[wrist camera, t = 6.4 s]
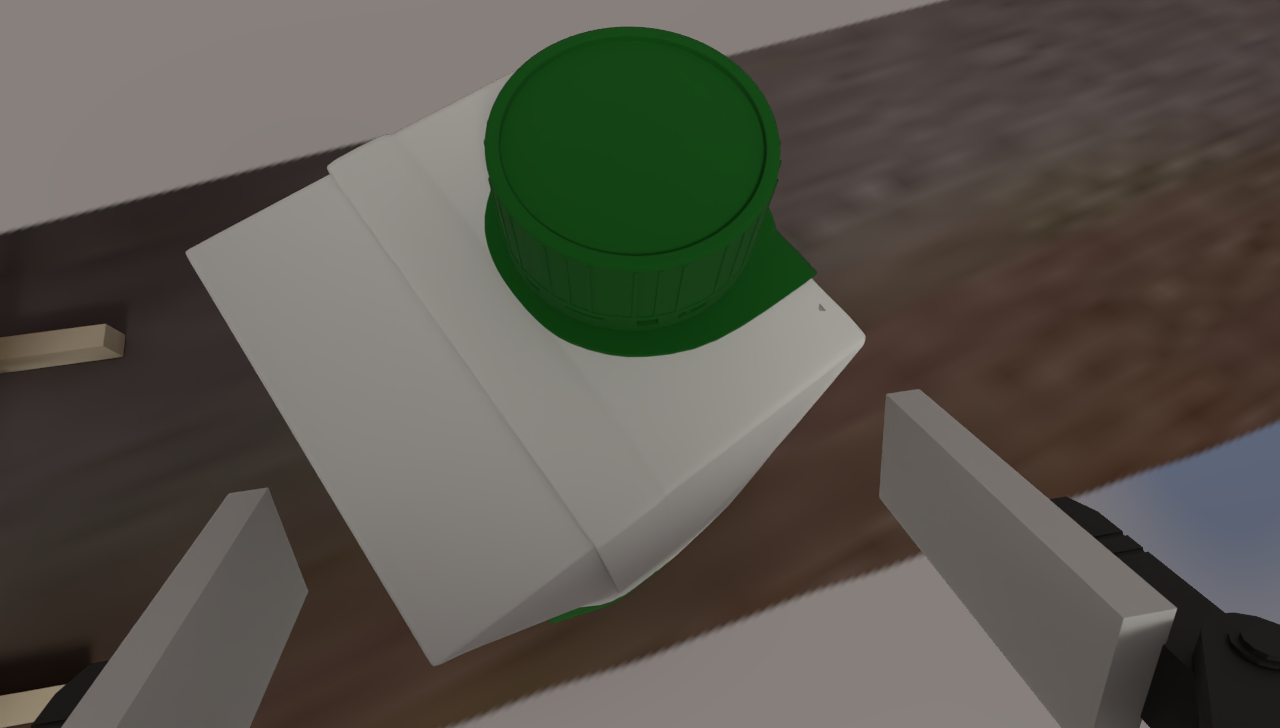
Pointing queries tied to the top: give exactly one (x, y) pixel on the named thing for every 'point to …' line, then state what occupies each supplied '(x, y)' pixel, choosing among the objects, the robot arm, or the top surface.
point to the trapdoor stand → (40, 354)
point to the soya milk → (538, 329)
